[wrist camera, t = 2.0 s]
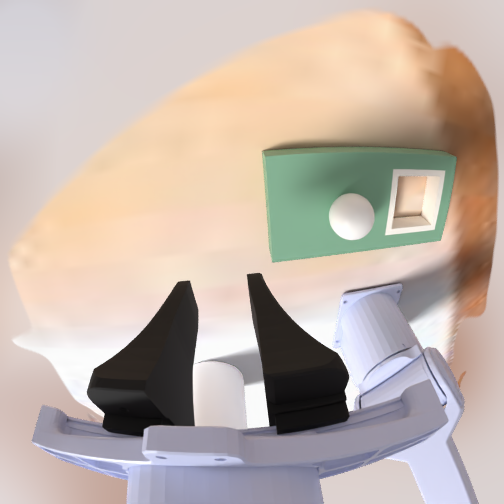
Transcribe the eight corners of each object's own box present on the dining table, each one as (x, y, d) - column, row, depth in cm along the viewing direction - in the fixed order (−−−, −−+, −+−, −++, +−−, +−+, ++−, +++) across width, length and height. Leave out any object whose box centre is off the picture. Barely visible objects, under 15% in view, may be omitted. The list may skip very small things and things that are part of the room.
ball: (361, 224, 22) (379, 246, 19) (322, 228, 22) (336, 251, 19) (364, 185, 20) (385, 202, 17) (323, 187, 20) (339, 206, 17)
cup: (253, 380, 37) (259, 443, 28) (186, 397, 39) (183, 452, 31) (225, 353, 33) (226, 426, 24) (153, 373, 35) (144, 435, 26)
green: (430, 231, 25) (440, 240, 23) (269, 249, 25) (272, 262, 23) (444, 151, 20) (456, 157, 19) (262, 150, 20) (265, 156, 18)
